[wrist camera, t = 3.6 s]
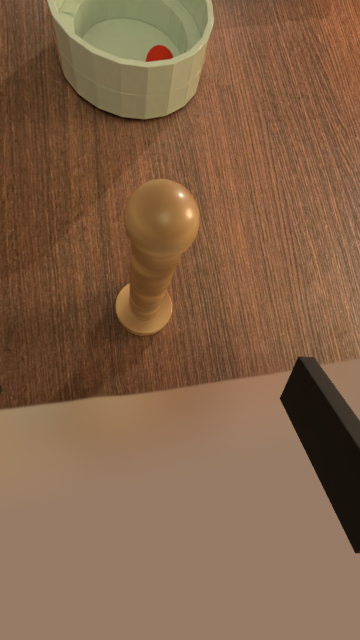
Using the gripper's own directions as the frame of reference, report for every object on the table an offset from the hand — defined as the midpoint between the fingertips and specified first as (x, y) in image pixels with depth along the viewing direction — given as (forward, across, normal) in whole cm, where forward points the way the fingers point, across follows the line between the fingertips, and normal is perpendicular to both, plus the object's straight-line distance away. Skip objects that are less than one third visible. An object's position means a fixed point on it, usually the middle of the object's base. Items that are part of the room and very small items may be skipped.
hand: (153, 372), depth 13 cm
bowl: (+34, -3, +14) cm, 37 cm away
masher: (+14, 0, -5) cm, 15 cm away
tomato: (+31, 0, +15) cm, 34 cm away
